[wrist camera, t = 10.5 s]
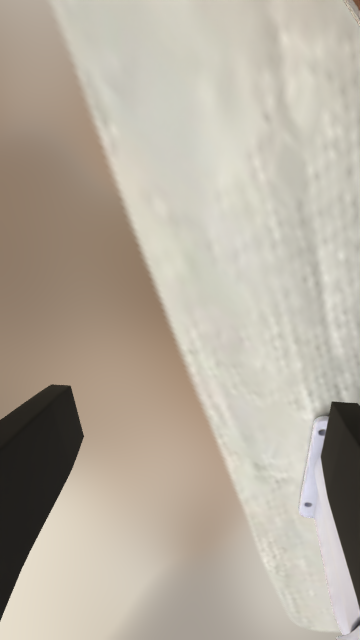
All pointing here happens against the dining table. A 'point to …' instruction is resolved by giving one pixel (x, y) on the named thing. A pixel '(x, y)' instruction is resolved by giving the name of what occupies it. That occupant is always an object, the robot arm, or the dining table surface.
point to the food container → (354, 8)
